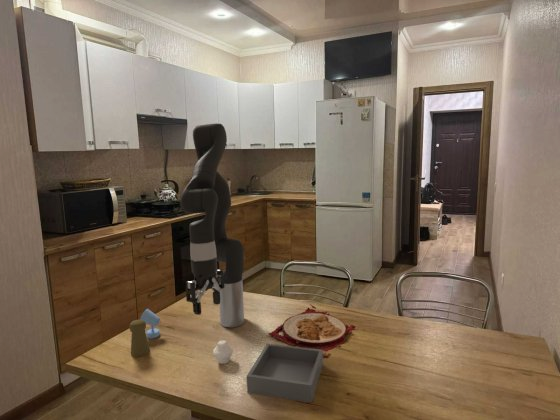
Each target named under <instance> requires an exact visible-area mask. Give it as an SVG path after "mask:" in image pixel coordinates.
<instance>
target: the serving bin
mask: <svg viewBox="0 0 560 420" xmlns="http://www.w3.org/2000/svg"><path fill="white" fill-rule="evenodd" d="M323 355H324V351H323V350H321V349H316V348H311V347H310V348H302V347H300V346H295V347H294V345H293V346H292V345H285V344H274V343H269V342H268V343H266V344H265V346H264V347H263V349H262V351H261V352H260V353H259V356H258V357H257V358H256V360H255V362H254V363H253V365H252V366H251V368H250V370H249V372H248V373H247V374H246V390H247V391H246V392H247V394H252V395H253V394H254V395H259V396H265V397H266V396H267V397H274V398H279V399H285V400H291V401H297V402H298V401H299V402H303V403H304V402H305V403H313V399H314V398H315V397H314V396H315V394H316V393H315V392H316V389H317V387H318V384H319V380H320V376H321V374H322V371H323V366H324V356H323Z"/></svg>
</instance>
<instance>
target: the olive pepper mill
mask: <svg viewBox="0 0 560 420" xmlns="http://www.w3.org/2000/svg"><path fill="white" fill-rule="evenodd" d="M146 329H147V323H146V322H145V321H144V320H141V319H140V318H139V319H135V320H132V321H131V322H130V324H129V330H130V332H131V339H130V340H131V341H130V355H131V356H132V357H135V358H136V357H142V356H143V357H144V356H145V355H147V354H148V353H150V350H151V349H150V345H149V341H148V338H147V334H146V332H147V331H146Z"/></svg>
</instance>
